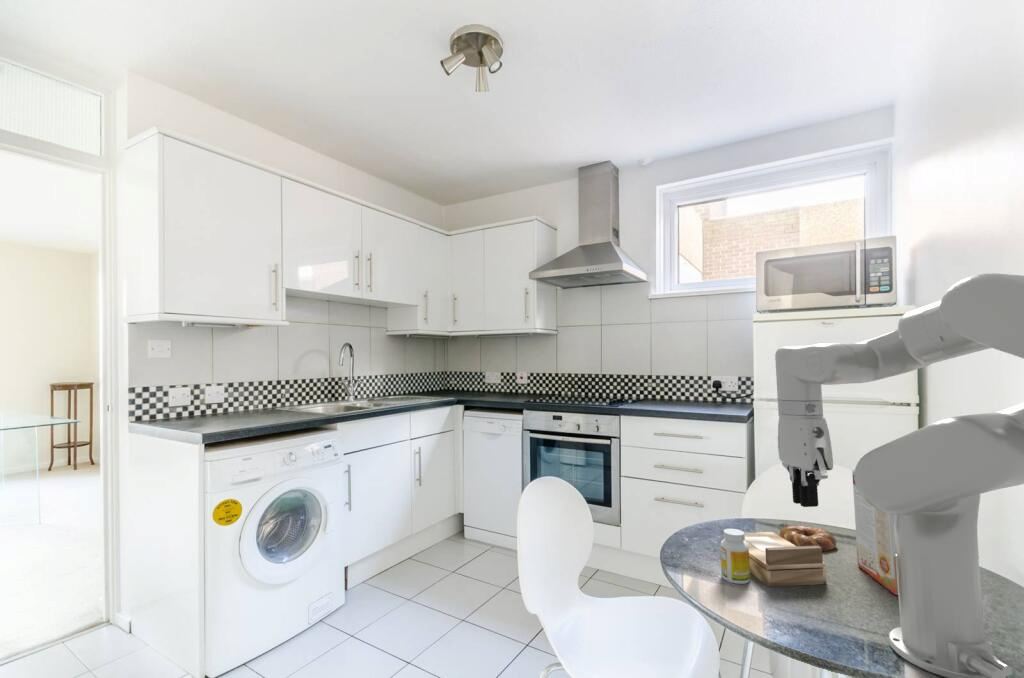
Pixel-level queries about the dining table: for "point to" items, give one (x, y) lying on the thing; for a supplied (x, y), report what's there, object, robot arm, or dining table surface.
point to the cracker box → (875, 542)
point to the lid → (781, 552)
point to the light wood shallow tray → (788, 575)
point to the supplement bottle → (735, 557)
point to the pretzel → (808, 537)
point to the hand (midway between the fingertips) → (805, 504)
